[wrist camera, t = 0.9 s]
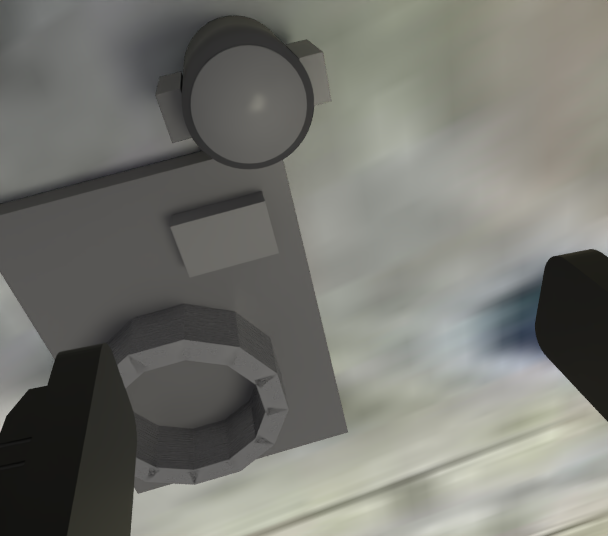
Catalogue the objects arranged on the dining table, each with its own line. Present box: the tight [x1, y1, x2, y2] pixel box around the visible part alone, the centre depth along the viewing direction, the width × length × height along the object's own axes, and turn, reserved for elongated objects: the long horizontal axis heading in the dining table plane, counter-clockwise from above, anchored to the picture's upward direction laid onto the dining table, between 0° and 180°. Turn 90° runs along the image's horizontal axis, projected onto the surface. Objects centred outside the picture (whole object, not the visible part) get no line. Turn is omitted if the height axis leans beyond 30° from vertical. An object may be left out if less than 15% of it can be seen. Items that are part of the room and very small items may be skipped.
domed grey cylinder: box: [156, 16, 331, 169], centre depth 21 cm, size 6×5×6 cm
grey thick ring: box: [107, 303, 289, 485], centre depth 29 cm, size 10×10×3 cm
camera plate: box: [0, 151, 348, 493], centre depth 29 cm, size 14×20×3 cm
